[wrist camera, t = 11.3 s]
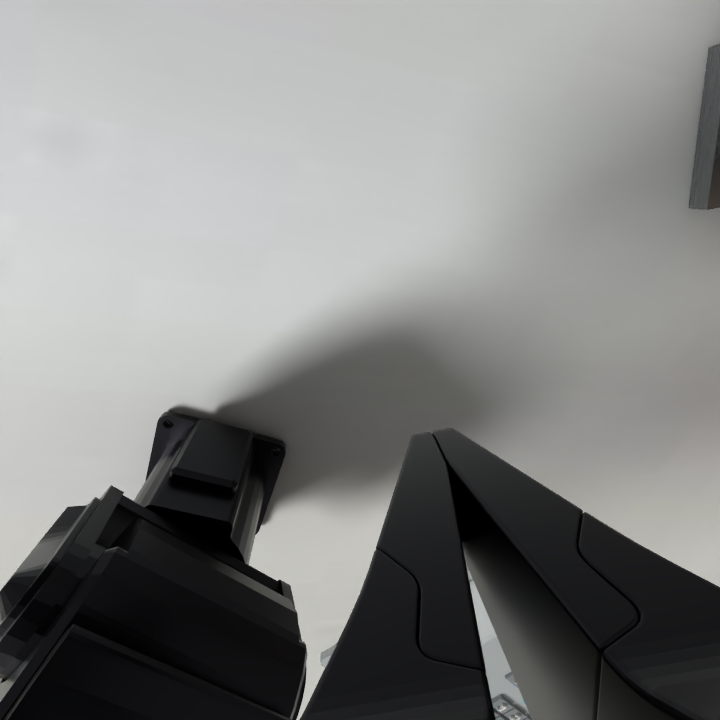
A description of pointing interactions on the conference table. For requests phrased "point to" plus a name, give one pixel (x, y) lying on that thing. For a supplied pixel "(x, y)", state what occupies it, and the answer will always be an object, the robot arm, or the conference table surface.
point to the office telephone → (488, 666)
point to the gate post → (708, 140)
